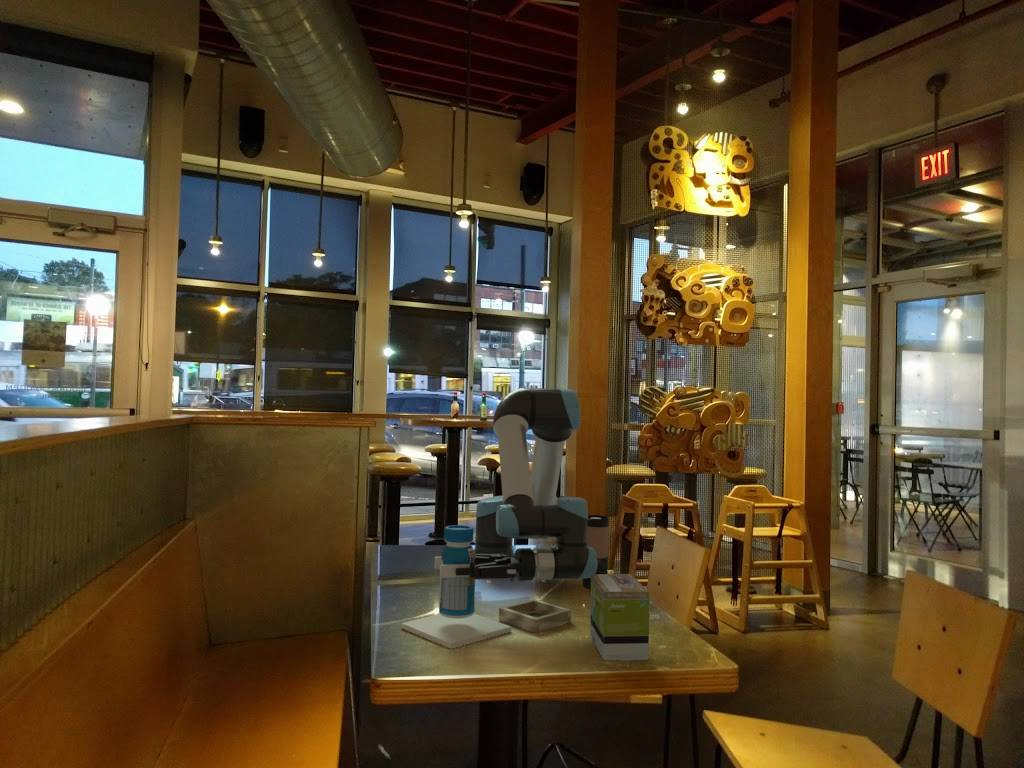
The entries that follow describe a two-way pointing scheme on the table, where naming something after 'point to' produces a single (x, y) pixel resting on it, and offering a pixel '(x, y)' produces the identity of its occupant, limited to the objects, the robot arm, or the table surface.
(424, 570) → the table surface
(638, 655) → the tea box
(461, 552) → the beverage bottle
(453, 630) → the serving board
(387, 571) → the table surface
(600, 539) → the travel mug
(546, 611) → the collar
